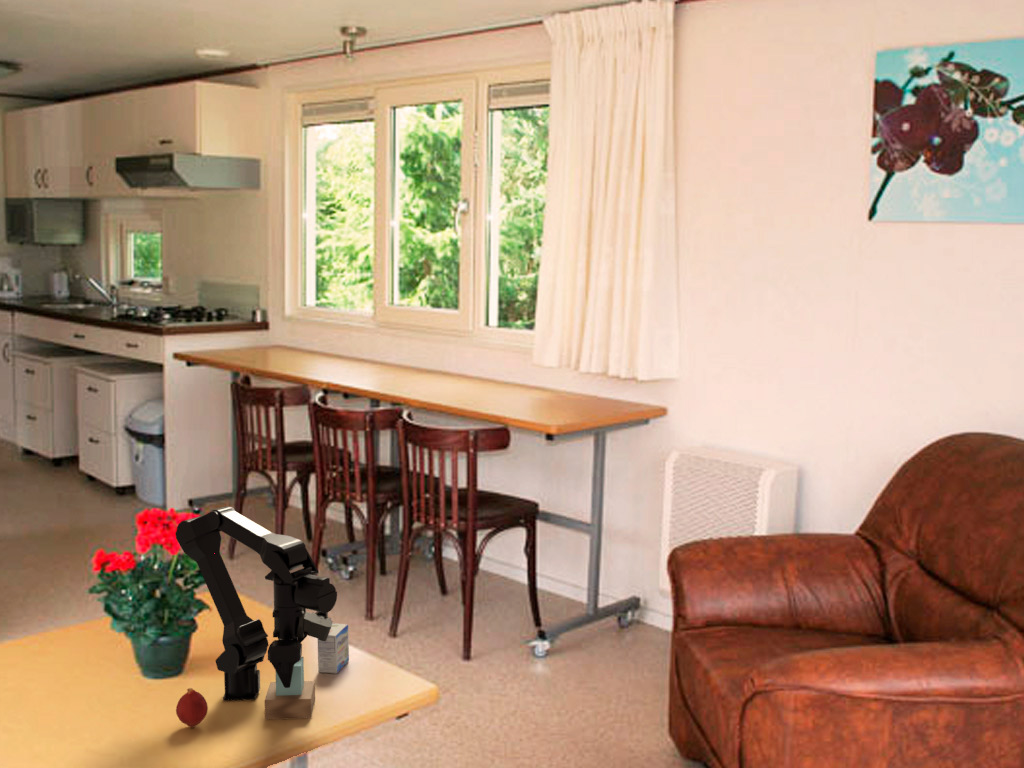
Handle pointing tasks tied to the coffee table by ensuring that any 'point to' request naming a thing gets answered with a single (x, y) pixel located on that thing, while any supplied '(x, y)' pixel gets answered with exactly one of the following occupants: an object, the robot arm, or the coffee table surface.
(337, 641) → the medicine box
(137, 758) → the coffee table surface
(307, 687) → the walnut stand
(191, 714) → the onion
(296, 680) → the teal block
